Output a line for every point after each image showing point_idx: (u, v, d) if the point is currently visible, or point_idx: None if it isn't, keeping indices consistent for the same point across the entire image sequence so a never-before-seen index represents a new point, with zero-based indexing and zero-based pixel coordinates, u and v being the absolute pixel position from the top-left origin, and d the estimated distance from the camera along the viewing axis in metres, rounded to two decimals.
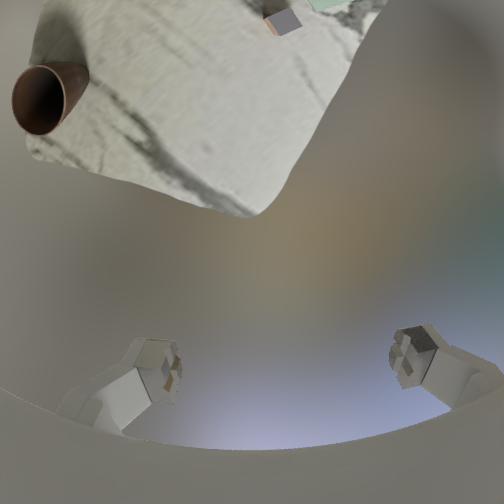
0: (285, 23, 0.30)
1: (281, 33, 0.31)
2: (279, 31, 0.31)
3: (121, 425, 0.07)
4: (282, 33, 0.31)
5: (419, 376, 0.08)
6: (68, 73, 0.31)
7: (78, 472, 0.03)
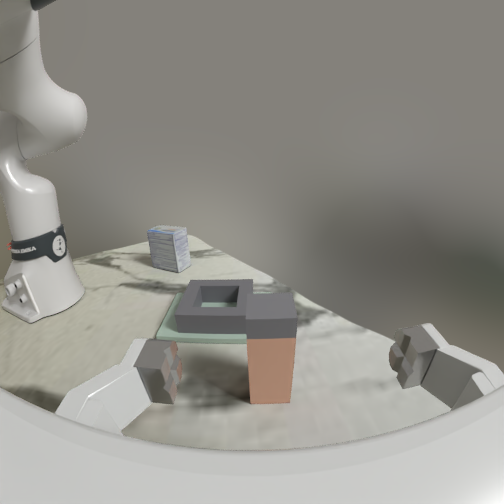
0: (274, 306, 0.22)
1: (292, 315, 0.21)
2: (287, 317, 0.21)
3: (121, 425, 0.07)
4: (293, 314, 0.21)
5: (419, 376, 0.08)
6: None
7: (78, 472, 0.03)
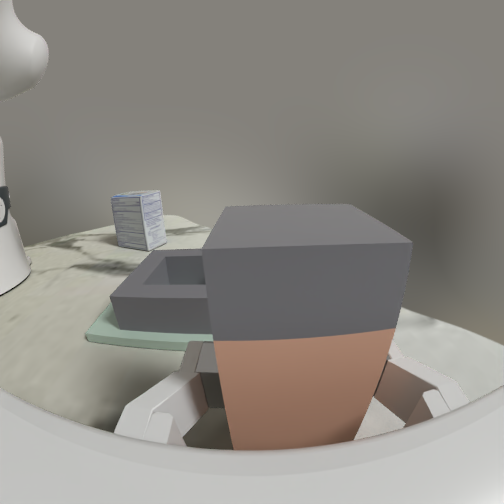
0: (315, 221, 0.06)
1: (393, 237, 0.05)
2: (374, 241, 0.05)
3: None
4: (393, 235, 0.05)
5: None
6: None
7: (78, 472, 0.03)
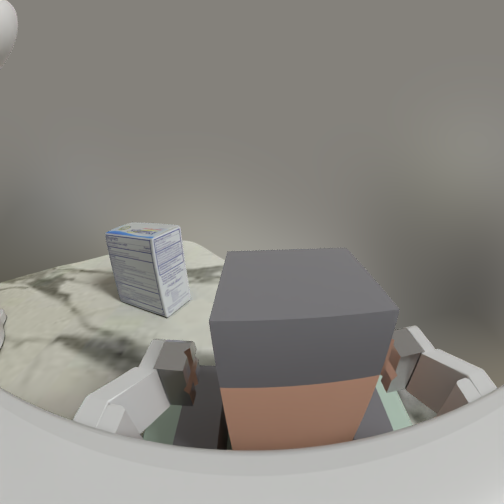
0: (312, 279, 0.07)
1: (381, 303, 0.05)
2: (364, 308, 0.05)
3: (140, 429, 0.07)
4: (382, 300, 0.06)
5: (404, 380, 0.08)
6: None
7: (78, 472, 0.03)
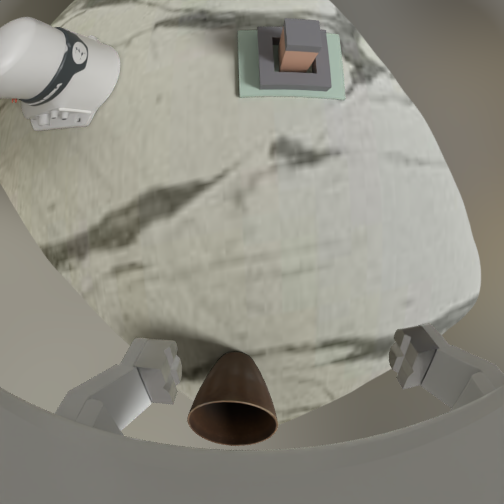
0: (306, 34, 0.22)
1: (319, 44, 0.23)
2: (315, 45, 0.23)
3: (121, 425, 0.07)
4: (319, 43, 0.23)
5: (419, 376, 0.08)
6: (236, 385, 0.39)
7: (78, 472, 0.03)
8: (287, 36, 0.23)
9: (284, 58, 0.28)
